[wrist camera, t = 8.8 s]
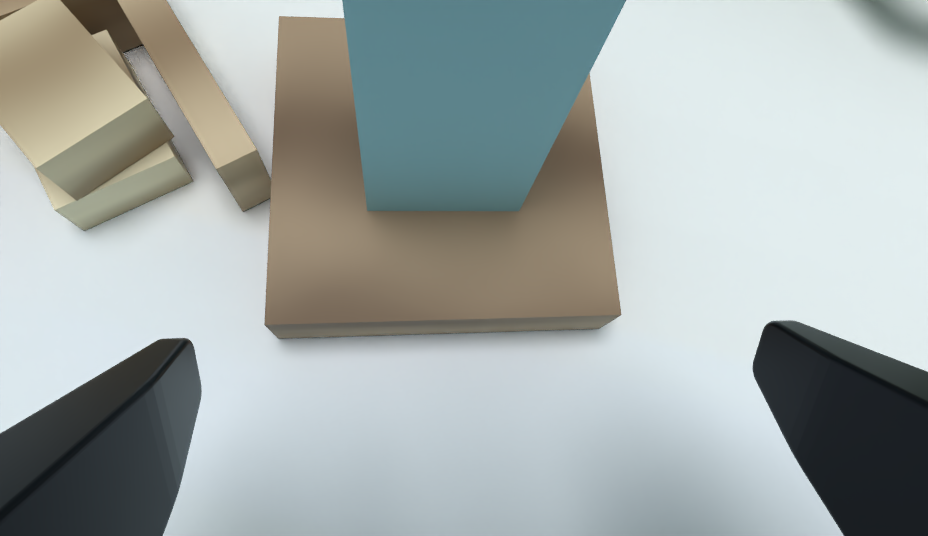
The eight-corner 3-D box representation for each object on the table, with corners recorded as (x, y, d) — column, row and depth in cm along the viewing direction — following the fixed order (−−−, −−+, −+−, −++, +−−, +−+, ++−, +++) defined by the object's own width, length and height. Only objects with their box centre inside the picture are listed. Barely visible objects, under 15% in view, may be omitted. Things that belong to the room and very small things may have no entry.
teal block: (518, 211, 18) (674, -95, 8) (367, 210, 17) (328, -117, 7) (511, 108, 19) (639, -276, 9) (367, 105, 18) (334, -307, 8)
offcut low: (196, 185, 20) (174, 156, 18) (89, 234, 19) (54, 210, 17) (133, 69, 20) (106, 29, 19) (29, 110, 20) (-11, 74, 18)
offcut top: (174, 136, 18) (147, 98, 16) (76, 200, 17) (36, 168, 15) (88, 39, 18) (52, -9, 17) (-10, 96, 18) (-59, 53, 16)
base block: (599, 328, 19) (621, 314, 17) (278, 338, 18) (264, 325, 16) (567, 63, 22) (583, 26, 20) (289, 56, 21) (279, 16, 19)
